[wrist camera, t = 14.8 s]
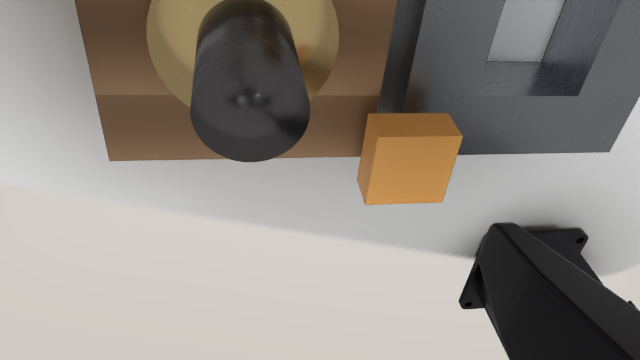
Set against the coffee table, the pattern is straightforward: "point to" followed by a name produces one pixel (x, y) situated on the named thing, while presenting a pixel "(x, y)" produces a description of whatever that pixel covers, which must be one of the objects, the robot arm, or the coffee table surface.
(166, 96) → the rack block
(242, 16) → the dark flanged cylinder
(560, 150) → the socket block
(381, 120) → the cardboard box
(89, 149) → the coffee table surface
